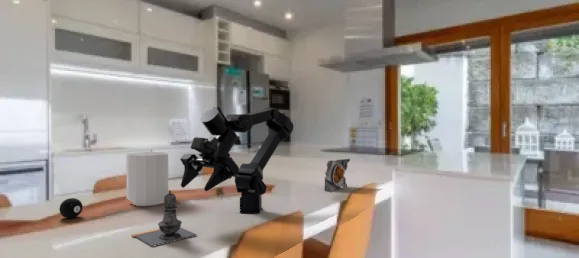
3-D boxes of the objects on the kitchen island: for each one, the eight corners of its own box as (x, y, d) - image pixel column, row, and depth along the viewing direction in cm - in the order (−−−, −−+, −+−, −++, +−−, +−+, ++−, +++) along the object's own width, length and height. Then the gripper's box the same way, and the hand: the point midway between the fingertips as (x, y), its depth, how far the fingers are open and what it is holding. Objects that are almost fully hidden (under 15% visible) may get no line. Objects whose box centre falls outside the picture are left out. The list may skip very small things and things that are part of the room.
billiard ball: (74, 214, 115) (74, 195, 115) (86, 216, 113) (86, 197, 113) (55, 218, 110) (55, 199, 110) (67, 221, 107) (67, 201, 107)
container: (143, 208, 125) (142, 156, 124) (118, 202, 132) (118, 154, 132) (176, 200, 137) (176, 153, 136) (152, 196, 144) (151, 151, 144)
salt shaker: (181, 239, 90) (181, 191, 90) (156, 241, 89) (156, 192, 89) (182, 232, 96) (182, 187, 96) (159, 234, 94) (159, 188, 94)
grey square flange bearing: (332, 192, 152) (333, 161, 152) (324, 191, 155) (324, 161, 155) (350, 187, 164) (350, 158, 164) (341, 186, 167) (342, 158, 166)
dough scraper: (131, 236, 94) (131, 234, 93) (177, 226, 103) (177, 224, 103) (149, 247, 86) (149, 245, 86) (198, 235, 95) (198, 233, 95)
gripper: (185, 126, 108) (153, 167, 99) (232, 127, 98) (201, 172, 89) (204, 151, 115) (176, 191, 105) (250, 154, 105) (224, 199, 95)
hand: (193, 188), depth 99 cm, fingers open, 9 cm apart
